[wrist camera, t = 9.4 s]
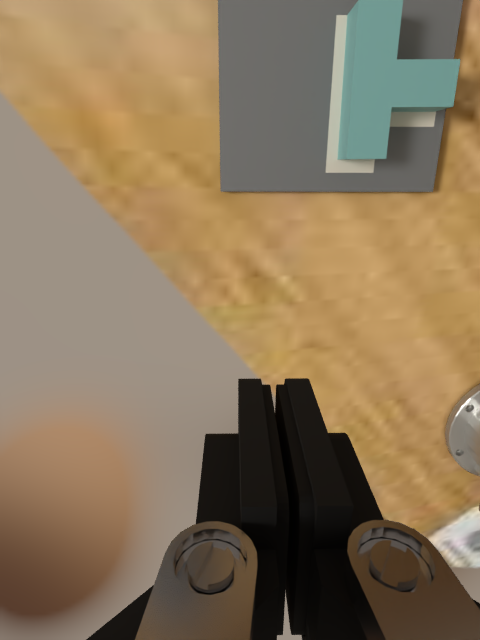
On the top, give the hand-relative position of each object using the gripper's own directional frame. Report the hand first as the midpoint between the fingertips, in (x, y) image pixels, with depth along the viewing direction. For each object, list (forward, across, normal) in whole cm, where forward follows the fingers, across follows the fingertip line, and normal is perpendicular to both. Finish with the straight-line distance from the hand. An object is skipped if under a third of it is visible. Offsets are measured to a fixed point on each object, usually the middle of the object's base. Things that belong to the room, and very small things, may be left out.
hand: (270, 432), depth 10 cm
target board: (+29, -7, -11) cm, 32 cm away
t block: (+28, -11, -12) cm, 32 cm away
